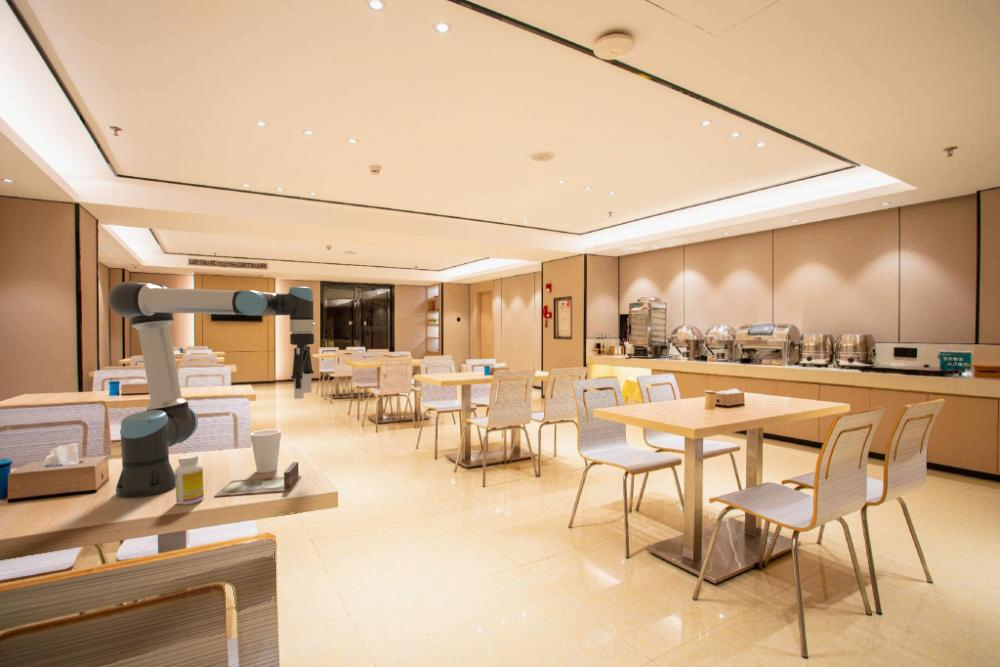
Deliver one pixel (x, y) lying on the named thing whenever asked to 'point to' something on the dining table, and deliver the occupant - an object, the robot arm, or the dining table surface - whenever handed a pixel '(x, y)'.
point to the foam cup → (266, 449)
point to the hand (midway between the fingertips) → (303, 395)
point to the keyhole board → (262, 484)
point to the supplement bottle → (189, 480)
